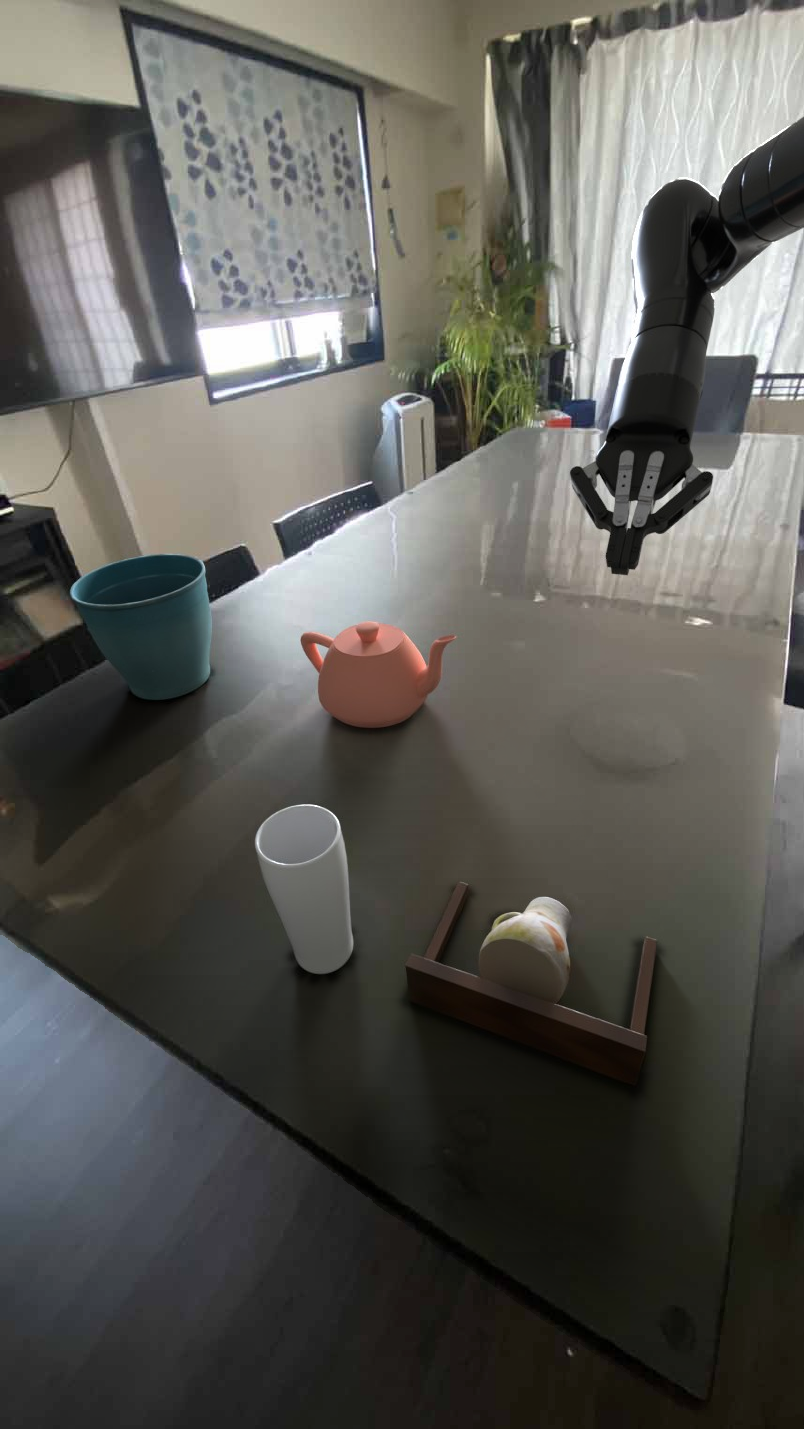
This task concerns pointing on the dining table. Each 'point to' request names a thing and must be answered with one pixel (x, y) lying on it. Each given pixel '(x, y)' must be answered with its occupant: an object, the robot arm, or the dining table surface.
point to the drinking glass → (308, 884)
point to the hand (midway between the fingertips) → (619, 571)
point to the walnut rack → (531, 1008)
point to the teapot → (373, 673)
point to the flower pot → (150, 621)
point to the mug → (529, 950)
